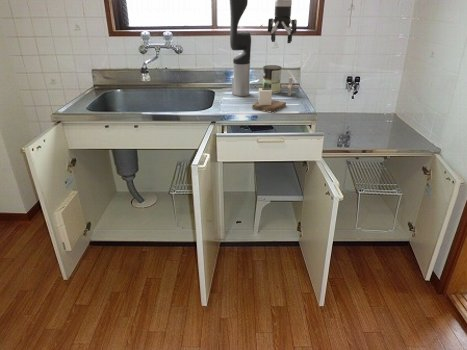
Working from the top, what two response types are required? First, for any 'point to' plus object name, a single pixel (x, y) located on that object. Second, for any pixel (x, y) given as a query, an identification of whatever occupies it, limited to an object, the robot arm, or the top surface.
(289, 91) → the pipe connector
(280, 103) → the board
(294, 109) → the top surface
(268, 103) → the cream rectangular block
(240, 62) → the robot arm
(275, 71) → the coffee can
